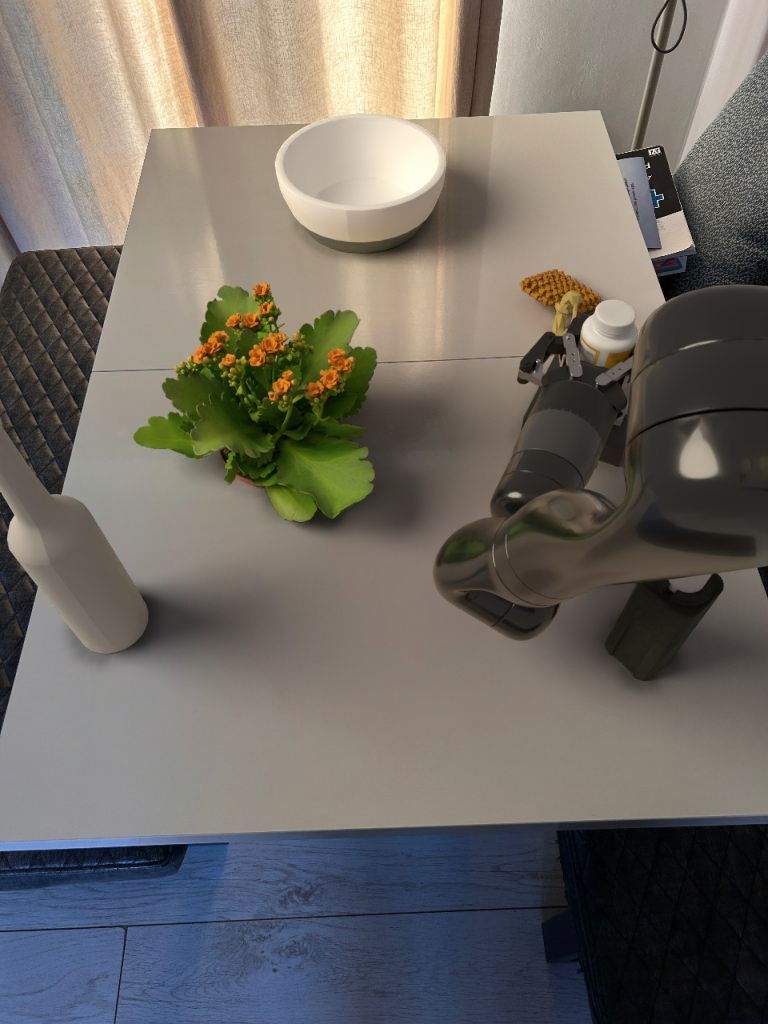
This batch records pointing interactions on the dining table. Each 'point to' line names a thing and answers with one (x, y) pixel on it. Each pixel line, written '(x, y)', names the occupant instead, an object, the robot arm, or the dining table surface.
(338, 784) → the dining table surface
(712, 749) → the dining table surface
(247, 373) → the potted flower
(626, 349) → the supplement bottle
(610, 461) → the scale
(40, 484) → the bottle
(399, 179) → the bowl
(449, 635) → the dining table surface
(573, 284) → the ornament
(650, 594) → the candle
